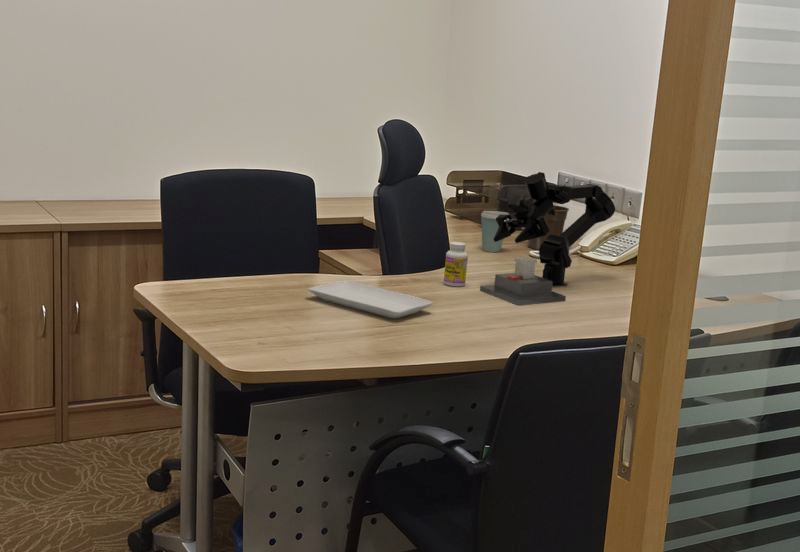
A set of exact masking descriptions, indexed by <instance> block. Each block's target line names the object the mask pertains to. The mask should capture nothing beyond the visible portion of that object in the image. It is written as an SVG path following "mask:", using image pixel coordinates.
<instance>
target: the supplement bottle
mask: <svg viewBox="0 0 800 552" xmlns="http://www.w3.org/2000/svg"><path fill="white" fill-rule="evenodd" d="M449 243H450V244H449V247H450V250H448V251H447V252H446V253H445V263H444V264H445V265H444V272H443V273H444V275H443V284H444V285H445V286H448V287H449V286H450V287H456V288H457V287H458V288H459V287H463V286H465V284H466V279H467V266H468V260H469V259H468V257H469V255H468V253H467V251H465V250H466V245H467V244H466V243H465V242H461V241H460V242H459V241H451V242H449Z"/></svg>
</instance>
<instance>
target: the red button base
mask: <svg viewBox="0 0 800 552" xmlns="http://www.w3.org/2000/svg"><path fill="white" fill-rule="evenodd" d="M552 284H553V281H551V280H548V279H545V278H542V276H539V275H535V274H534V279H530V280H521V279H519V277H516V276H515V272H512V273H497V274H495V278H494V284H488V285H487V284H486V285H480V286H479V291H480V292H482V293H485V294H487V295H489V296H492V297H496V298H499V299H501V300H504V301H505V302H509V303H511V304H513V305H516V306H525V305H537V304H538V305H539V304H546V303H558V302H566V299H567V298H566V295H564V294H562V293H558V292H555V291H553V286H552Z"/></svg>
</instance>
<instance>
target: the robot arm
mask: <svg viewBox="0 0 800 552" xmlns="http://www.w3.org/2000/svg"><path fill="white" fill-rule="evenodd" d="M547 182H548V181H547V180H546V174H545V173H544V172H541V171H538V173H533V174H530V175H527V176H526V177H525V178H524V183H525V187H526V191H527V193H528V196H526V197H525V196H521V195H514V196H513V195H512V197H510V198H511V199H510V200H509V201H508V204H507V206H508V208H510V209H511V210H512V211H513V212H514V213H513V216H514V217H515V219H514V218H512V216H511V215H510V214H509V215H499V216H498V217H497V218H496V221H497V223H498V225H499V228H498V230H497V233H496V235H495V237H494V241H495V242H497V241H499V240H502V239H503V240H504V239H506V238H509V237H511V236H512V235H513V234H514V233H515V232H516V230H517V228H519V229H521V232H520V233H519V234H518V235H517V236H516V238H515V239H514V242H515V243H516V244H519V243H522V242H525V241H528V240H530V239H534V238H538V237H541V236H546V235H547V234H548V233H549V227H548V225H547V223H546V220H545V218H544V217H545V216H546V215H547V214H548V215H553V216H554V215H555V207H554V204H556V205H557V204H558V205H565V204H567V203H569V202H570V201H572V200H575V199H576V200H577V199H584V204H585V209H584V210H585V211H584V213H583V214H581V215H580V217H578V218H577V219H576V220H575V221H574V222H573V223H572V224H570V226H568V227H567V228H565V230H563V233H562V234H561V235H559V236H557V235H553V234H551V235H549V236H548V237H547V238H546V239H545V240H543V243H542V244H541V245H540V248H539V250H538V255H539V262H540V264H544V265H543V266H544V267H543V269H542V276H541V277H542V278H545V279H548V280H551V281H553V284H552V287H560V286H567V285H568V283H566V282H565V275H566V269H568V268H570V267H571V265H572V262H573V260H572V258H571V256H570V255H569V254H570V249H571V247H572V246H573V245H574V244H575V243H576V242H577V241H578V240H579V239H580V238H582V237H583V236H584V235H585V234H586V233H587V232H588V231H590V230H591V228H593V227H594V226H595V225H596V224H598V223H602V222H605V221H607V220H609V219H610V218H612V217H613V216H614V214H615V211H616V207H615V206H616V205H615V204H614V202H613V200H612V198H611V197H610V196H609V195H608V194H606V193H605V192H604V190H603V189H602V187H601V186H600V185H597V184H591V183H587V184H582V185H581V184H579V185H567V186H566V185H563V184H562V185H560V184H555V183H547Z"/></svg>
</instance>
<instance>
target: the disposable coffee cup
mask: <svg viewBox="0 0 800 552" xmlns="http://www.w3.org/2000/svg"><path fill="white" fill-rule="evenodd" d="M499 215H510V213H509V212H505V211H496V210H483V211H482V212H481V214H480V216H481V217H480V218H481V246H482V247H481V248H482V250H483V251H485V252H490V253H499V252H500V251H501V250H502V246H503V243H504V239H502V240H499V241H497V242H495V241H494V237H495V235H496V233H497V230H498V228H499V225H498V223H497V221H496V218H497V217H498V216H499Z"/></svg>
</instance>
